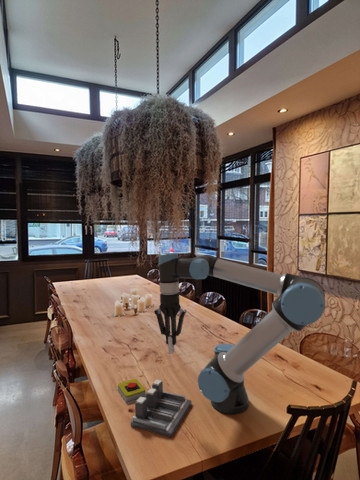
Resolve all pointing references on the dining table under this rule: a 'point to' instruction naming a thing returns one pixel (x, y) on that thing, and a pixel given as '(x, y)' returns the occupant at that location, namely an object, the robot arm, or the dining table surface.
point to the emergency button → (131, 391)
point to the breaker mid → (152, 398)
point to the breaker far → (158, 388)
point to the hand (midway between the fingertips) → (171, 352)
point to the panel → (164, 415)
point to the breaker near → (141, 408)
